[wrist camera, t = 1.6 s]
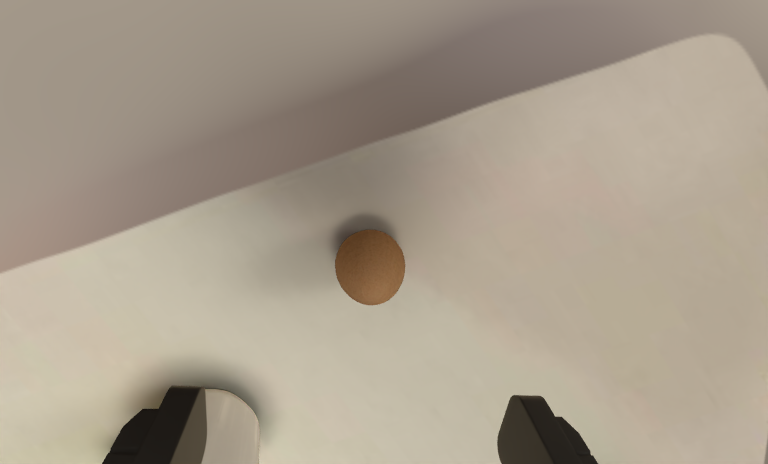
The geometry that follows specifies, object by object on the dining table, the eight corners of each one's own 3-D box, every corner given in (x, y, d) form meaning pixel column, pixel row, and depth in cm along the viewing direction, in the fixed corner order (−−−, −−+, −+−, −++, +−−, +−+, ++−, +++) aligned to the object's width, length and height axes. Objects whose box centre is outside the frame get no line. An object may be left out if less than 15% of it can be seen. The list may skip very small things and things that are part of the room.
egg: (364, 204, 28) (371, 243, 22) (412, 243, 29) (429, 288, 24) (322, 251, 29) (318, 298, 23) (370, 286, 30) (377, 338, 25)
